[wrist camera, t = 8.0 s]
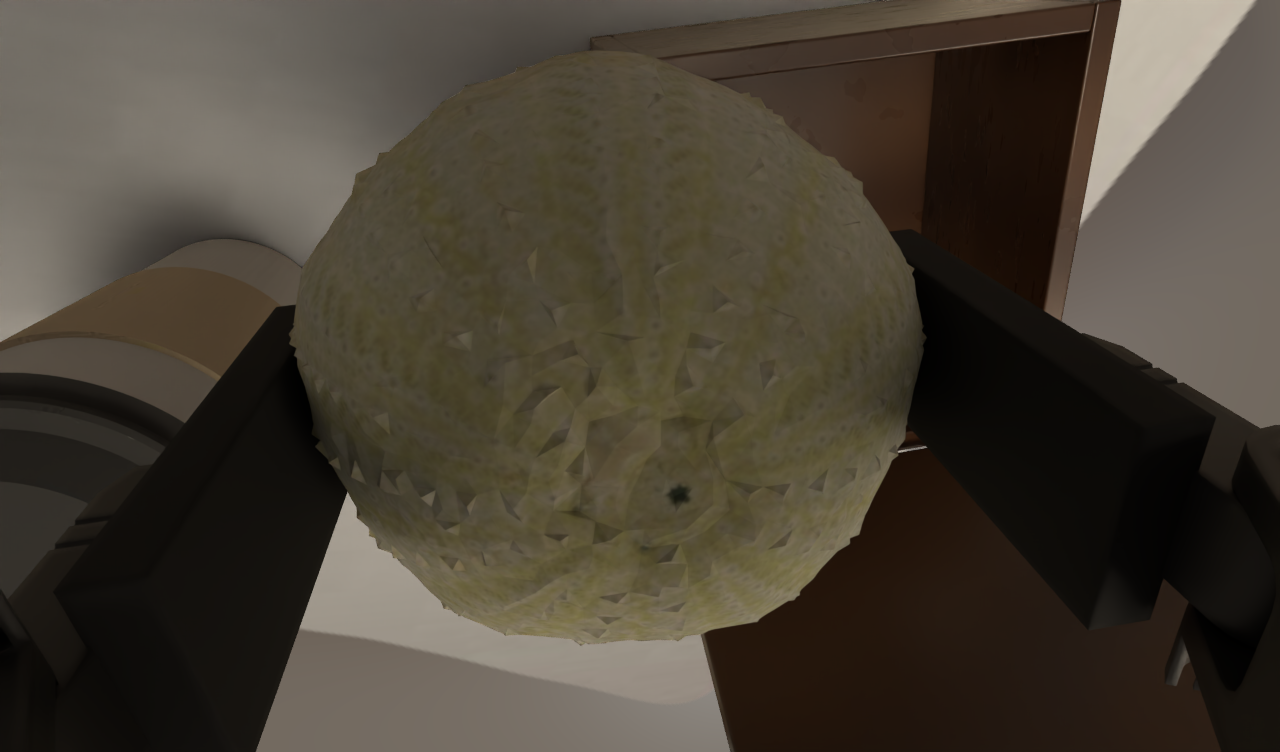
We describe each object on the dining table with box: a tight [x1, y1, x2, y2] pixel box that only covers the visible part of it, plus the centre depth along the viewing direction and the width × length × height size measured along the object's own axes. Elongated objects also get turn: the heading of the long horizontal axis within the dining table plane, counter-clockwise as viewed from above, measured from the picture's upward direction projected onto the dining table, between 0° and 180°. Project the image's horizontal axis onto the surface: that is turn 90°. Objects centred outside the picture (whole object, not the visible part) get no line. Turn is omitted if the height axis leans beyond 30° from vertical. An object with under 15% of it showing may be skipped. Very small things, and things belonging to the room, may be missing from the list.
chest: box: [590, 0, 1121, 451], centre depth 25 cm, size 13×13×9 cm
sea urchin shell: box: [289, 51, 927, 645], centre depth 12 cm, size 9×8×8 cm
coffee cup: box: [0, 239, 302, 599], centre depth 22 cm, size 9×9×15 cm
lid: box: [701, 448, 1221, 752], centre depth 19 cm, size 14×13×1 cm
